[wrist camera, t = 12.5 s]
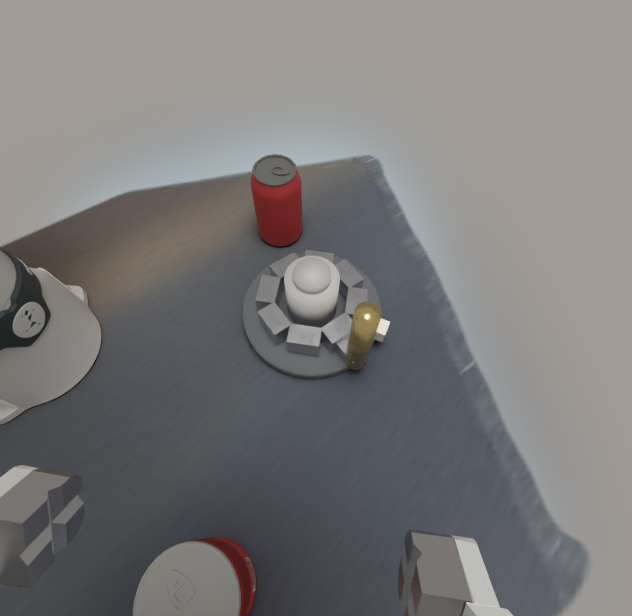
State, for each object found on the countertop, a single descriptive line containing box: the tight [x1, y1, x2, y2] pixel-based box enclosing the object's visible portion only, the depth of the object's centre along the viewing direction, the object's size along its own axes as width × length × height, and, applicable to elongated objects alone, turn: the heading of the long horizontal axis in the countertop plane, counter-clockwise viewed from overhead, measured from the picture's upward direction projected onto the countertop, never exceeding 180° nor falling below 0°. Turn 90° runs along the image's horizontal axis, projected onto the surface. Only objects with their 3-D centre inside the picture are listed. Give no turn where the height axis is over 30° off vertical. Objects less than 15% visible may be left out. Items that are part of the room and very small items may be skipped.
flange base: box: [243, 253, 390, 379], centre depth 48 cm, size 19×18×10 cm
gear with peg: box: [255, 250, 381, 370], centre depth 45 cm, size 17×13×12 cm
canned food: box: [133, 538, 256, 616], centre depth 33 cm, size 8×8×11 cm
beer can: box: [251, 154, 302, 246], centre depth 54 cm, size 7×7×12 cm
